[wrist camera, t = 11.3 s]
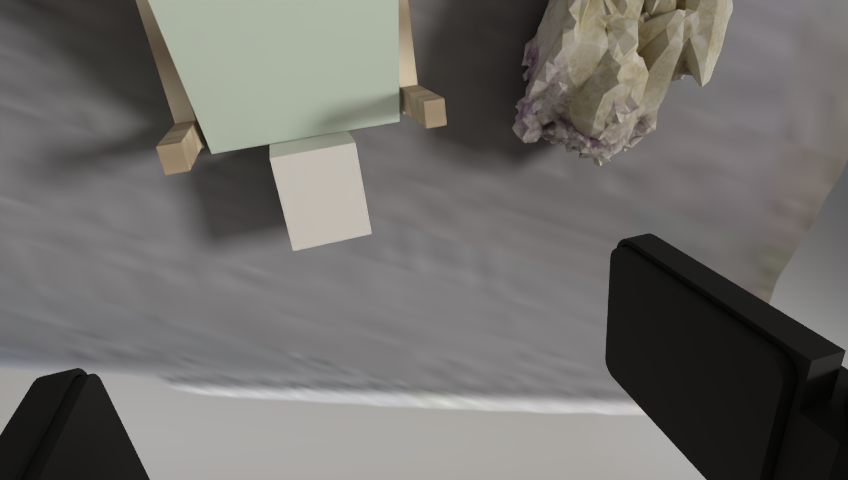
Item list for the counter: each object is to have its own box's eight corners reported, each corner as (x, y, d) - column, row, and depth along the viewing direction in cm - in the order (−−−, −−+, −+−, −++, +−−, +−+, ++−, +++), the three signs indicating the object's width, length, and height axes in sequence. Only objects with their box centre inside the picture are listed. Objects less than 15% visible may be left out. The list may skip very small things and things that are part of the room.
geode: (651, -43, 42) (493, -89, 35) (775, -110, 33) (599, -188, 27) (651, 172, 42) (496, 166, 36) (772, 159, 34) (600, 148, 27)
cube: (269, 158, 30) (293, 251, 33) (355, 142, 31) (371, 233, 34) (269, 139, 35) (290, 222, 37) (344, 125, 35) (359, 207, 38)
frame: (110, -92, 28) (46, -132, 20) (390, -116, 31) (432, -160, 23) (186, 147, 33) (159, 191, 25) (416, 108, 36) (458, 136, 28)
